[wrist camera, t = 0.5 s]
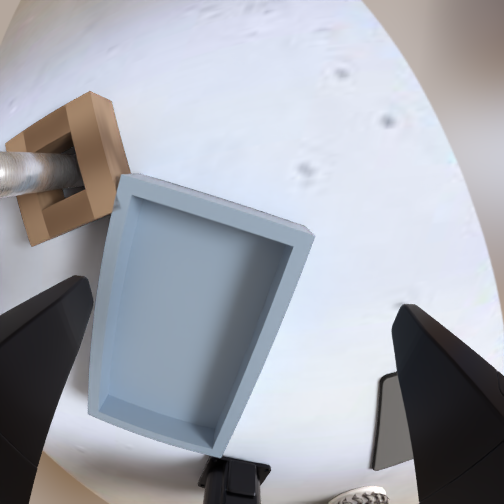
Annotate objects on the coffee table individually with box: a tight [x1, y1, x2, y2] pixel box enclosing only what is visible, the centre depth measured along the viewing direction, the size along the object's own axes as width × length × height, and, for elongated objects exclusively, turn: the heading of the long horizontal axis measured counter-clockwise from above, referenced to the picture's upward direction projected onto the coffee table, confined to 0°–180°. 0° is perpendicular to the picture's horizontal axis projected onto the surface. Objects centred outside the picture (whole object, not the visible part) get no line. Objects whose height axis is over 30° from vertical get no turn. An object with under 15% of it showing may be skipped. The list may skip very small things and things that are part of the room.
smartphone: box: [372, 372, 414, 471], centre depth 27 cm, size 7×1×15 cm
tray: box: [88, 174, 315, 458], centre depth 22 cm, size 20×12×4 cm, turn 162°
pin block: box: [5, 91, 131, 247], centre depth 19 cm, size 8×8×4 cm
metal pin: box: [0, 152, 84, 198], centre depth 14 cm, size 3×3×13 cm
